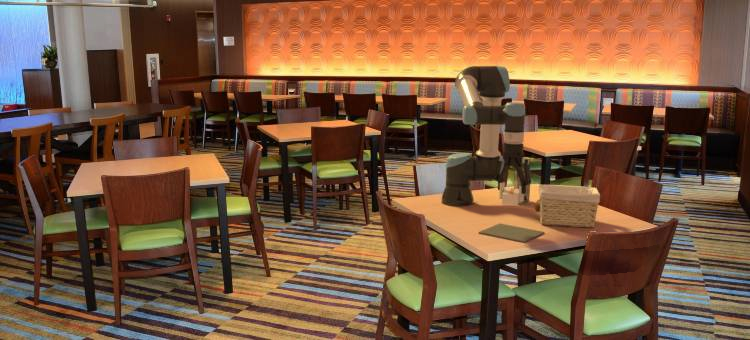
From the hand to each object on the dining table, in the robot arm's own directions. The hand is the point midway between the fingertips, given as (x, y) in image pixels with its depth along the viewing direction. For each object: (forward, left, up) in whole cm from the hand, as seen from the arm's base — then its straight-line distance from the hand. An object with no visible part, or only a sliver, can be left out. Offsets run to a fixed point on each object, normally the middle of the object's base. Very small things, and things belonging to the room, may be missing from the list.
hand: (511, 200), depth 258 cm
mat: (+1, 0, -14) cm, 14 cm away
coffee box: (-21, +51, -14) cm, 57 cm away
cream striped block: (0, 0, -1) cm, 1 cm away
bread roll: (-6, +44, -14) cm, 47 cm away
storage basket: (+11, +30, -14) cm, 35 cm away
